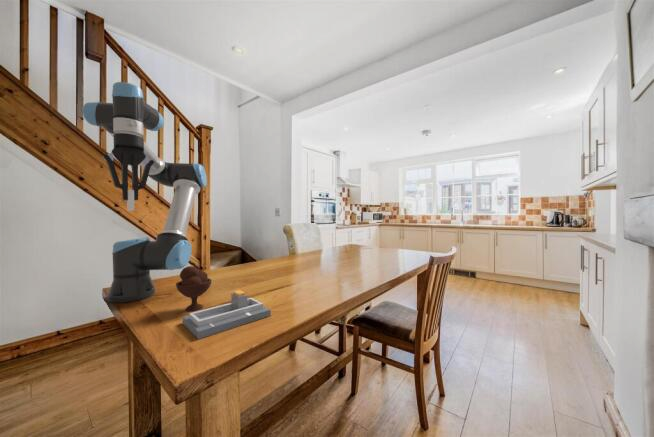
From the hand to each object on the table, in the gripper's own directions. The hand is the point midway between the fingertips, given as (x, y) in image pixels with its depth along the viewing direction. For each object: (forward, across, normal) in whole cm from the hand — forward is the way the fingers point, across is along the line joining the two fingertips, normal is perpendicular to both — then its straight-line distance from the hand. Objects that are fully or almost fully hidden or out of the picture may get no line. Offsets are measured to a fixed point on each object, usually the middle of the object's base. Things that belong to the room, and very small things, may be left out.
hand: (130, 210), depth 80 cm
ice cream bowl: (+35, +16, -6) cm, 39 cm away
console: (+34, +20, -24) cm, 46 cm away
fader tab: (+32, +24, -24) cm, 47 cm away
